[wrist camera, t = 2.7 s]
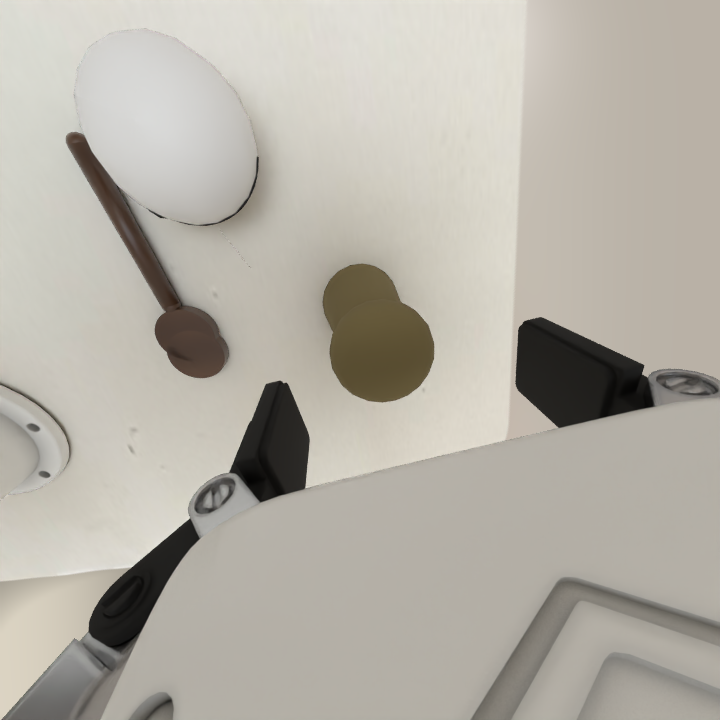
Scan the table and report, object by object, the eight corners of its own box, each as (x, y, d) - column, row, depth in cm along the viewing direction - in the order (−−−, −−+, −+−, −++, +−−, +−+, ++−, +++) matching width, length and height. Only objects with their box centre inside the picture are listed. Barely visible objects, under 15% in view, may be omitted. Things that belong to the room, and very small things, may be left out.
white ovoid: (111, 92, 15) (-48, -4, 9) (243, 64, 15) (182, -52, 9) (196, 275, 20) (132, 301, 13) (297, 252, 20) (282, 268, 13)
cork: (336, 251, 20) (347, 280, 10) (409, 279, 22) (478, 327, 12) (313, 325, 22) (303, 405, 13) (380, 346, 24) (418, 432, 14)
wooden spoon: (237, 365, 23) (232, 372, 22) (189, 377, 23) (182, 385, 22) (117, 126, 16) (102, 119, 15) (47, 144, 16) (27, 139, 15)
